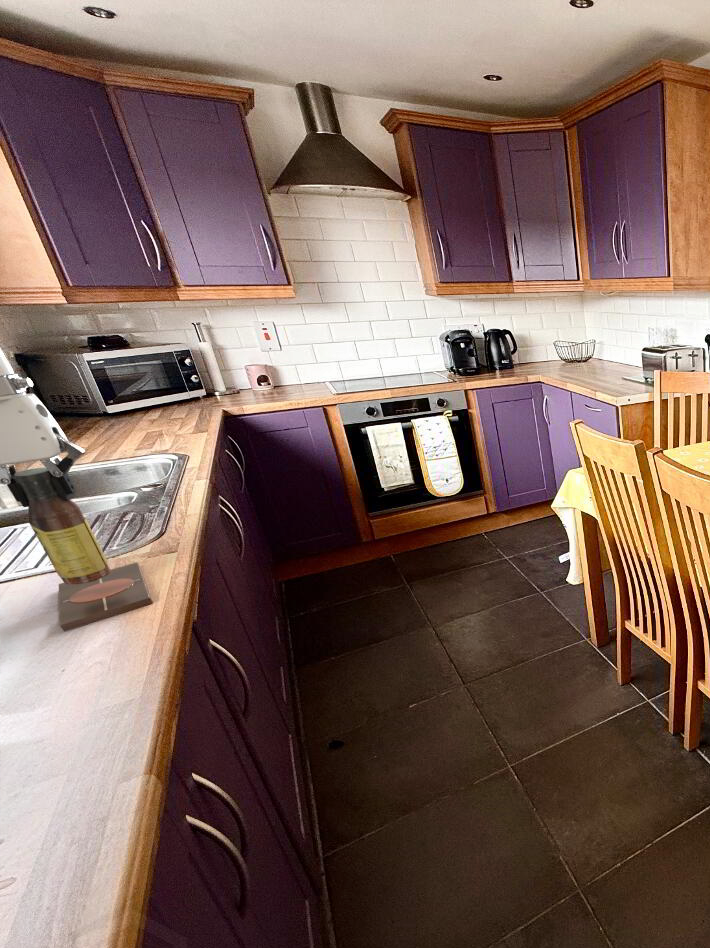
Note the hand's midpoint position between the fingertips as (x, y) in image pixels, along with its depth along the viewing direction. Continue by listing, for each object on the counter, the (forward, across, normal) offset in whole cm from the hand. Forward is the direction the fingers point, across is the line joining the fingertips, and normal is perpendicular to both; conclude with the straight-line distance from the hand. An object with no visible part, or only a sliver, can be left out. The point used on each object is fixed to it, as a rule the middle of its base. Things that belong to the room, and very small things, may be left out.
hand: (50, 500), depth 97 cm
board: (+19, 0, 0) cm, 19 cm away
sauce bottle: (+15, +1, 0) cm, 15 cm away
